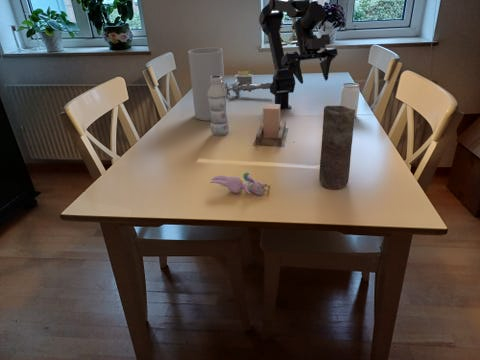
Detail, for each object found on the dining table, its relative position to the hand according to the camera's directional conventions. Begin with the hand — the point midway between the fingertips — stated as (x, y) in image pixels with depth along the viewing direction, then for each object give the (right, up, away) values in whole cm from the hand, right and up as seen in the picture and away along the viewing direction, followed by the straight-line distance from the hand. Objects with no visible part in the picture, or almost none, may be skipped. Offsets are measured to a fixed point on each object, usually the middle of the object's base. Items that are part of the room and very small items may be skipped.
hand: (314, 81), depth 118 cm
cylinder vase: (-37, -7, +23) cm, 44 cm away
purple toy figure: (-25, -36, -29) cm, 53 cm away
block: (-14, -18, +1) cm, 23 cm away
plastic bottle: (-32, -17, +5) cm, 37 cm away
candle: (-1, -34, -27) cm, 43 cm away
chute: (-14, -19, 0) cm, 24 cm away
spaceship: (-26, +6, +46) cm, 53 cm away
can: (+16, -9, +16) cm, 25 cm away
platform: (-23, +17, +67) cm, 72 cm away
